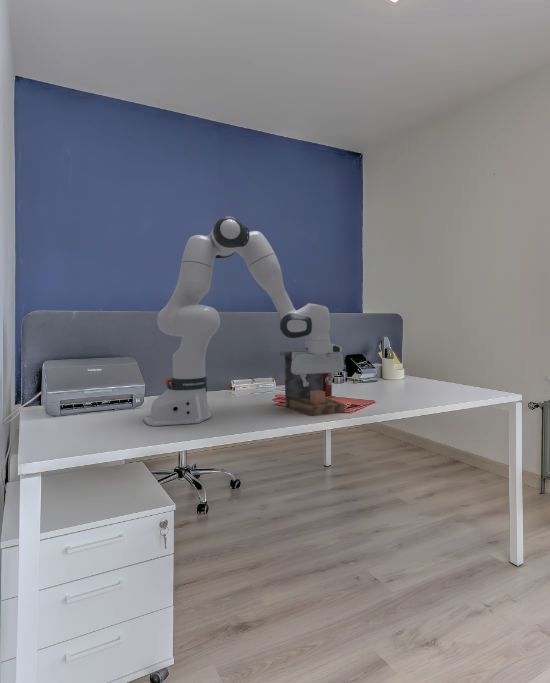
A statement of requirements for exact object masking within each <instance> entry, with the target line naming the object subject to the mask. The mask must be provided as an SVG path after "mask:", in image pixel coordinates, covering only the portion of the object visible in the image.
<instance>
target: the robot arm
mask: <svg viewBox="0 0 550 683" xmlns="http://www.w3.org/2000/svg"><path fill="white" fill-rule="evenodd" d="M235 253H236V254H238V255H240V257H241V258H242V259H243V260H244V263H245V264H246V267H247V270H248V271H249V273H250V275H251V276H252V277H253V279H254V280H255V281H256V283H257V284H258V285H259V286H260V287H261V288H262V289H263V290H264V291H265V292H266V293H267V294H268V296H269V297H270V299H271V301H272V302H273V304H274V307H275V309H276V310H277V311H276V312H277V313H278V315H279V319H280V323H279V327H280V331H281V333H282V334H283V335H284V336H285V337H286V338H288V339H290V340H291V339H292V340H293V339H294V340H297V339H299V338H302V337H305V348H304V347H303V348H295V349H294V350H292V351H291V352H292V363H291V372H292V373H293V374H295V375H300V377H301V379H302V381H303V386H304V387H308V386H309V382H308V381H306V379H305V377H306V374H318V373H329V375H330V376H329V378H328V380H326V385H332V386H333V380H334V377H335V375H336V374H335V373H342V372H343V370H344V368H345V363H344V355H343V354H342V352H343V347H342V346H339V345H338V344H335V343H331V339H330V338H331V337H330V330H331V317H330V316H331V315H330V310H329V308H328V307H327V306H326V305H325V304H322V303H316V302H308V303H307V304H305V305H303V307H301V308H299V309H296V308H295V306H294V305H293V302H292V300H291V298H290V296H289V294H288V292H287V291H286V289H285V288H286V287H285V284H284V280H283V278H284V277H283V272H282V268H281V265H280V262H279V259H278V257H277V255H276V253H275V251H274V249H273V248H272V245H271V244H270V242H269V241H268V239H267V238H266V236H265V235H264V234H263V233H262V232H261V231H259V230H251V231H249V228H248V227H247V226H245V225H244V224H243V223H242V222H241V221H240V220H239V219H237V218H236V217H233V216H224V217H222V218H220V219H218V220H217V221H216V222H215V224H214V225H213V228H212V230H211V231H210V233H209V234H207V235H203V234H195V235H192V236H190V237H189V238H188V240H187V242H186V245H185V248H184V250H183V254H182V258H181V263H180V269H179V274H178V277H177V278H178V279H177V283H176V285H175V289H174V291H173V294H171V297H170V298H169V300H168V302H167V303H166V305H165V306H164V307H163V308H162V309H161V310H160V311H159V312H158V314H157V317H156V322H157V323H156V324H157V328H158V329H159V331H160V332H162V333H163V334H165V335H168V336H171V337H180V338H181V341H180V345H179V347H178V349H177V350H175V351H174V352H173V354H172V377H171V378H164V380H163V383H164V384H165V385H167V389H166V390H164V392H162V393H161V394H160V395H159V396H157V398H155V399H154V400H153V401H152V403H151V408H150V414H146V415H145V416H144V417H143V418H144V420H143V421H144V423H145V424H146V425H149V426H152V427H153V426H154V427H158V426H161V427H162V426H174V425H188V424H199V423H201V422H203V421H205V420H208V419H210V418H211V417H212V414H211V411H210V408H209V407H210V406H209V402H208V394H207V393H208V378H207V376H206V355H207V351H208V350H207V349H208V346H209V343H210V341H211V339H212V338H213V336H214V335H215V334H216V333H217V332H218V331H219V329H220V325H221V318H220V315H219V314H220V313H219V312H218V311H217V309H215V307H212V306H209V305H204V304H199V303H200V302H201V300H202V299H203V298H204V296H206V295H207V294H208V293H209V291H210V289H211V285H212V284H211V282H212V277H213V276H212V275H213V270H214V264H215V259H225V258H229V257H231V256H233V255H234V254H235ZM294 351H296V352H294ZM299 351H301V352H299Z"/></svg>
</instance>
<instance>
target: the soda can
mask: <svg viewBox="0 0 550 683" xmlns="http://www.w3.org/2000/svg"><path fill="white" fill-rule="evenodd" d="M329 376H330V375H329V373H323V391H324V392H325V397H330V398H331V397H332V396H333V384H332V385H326V380H328V378H329Z"/></svg>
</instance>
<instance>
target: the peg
mask: <svg viewBox="0 0 550 683" xmlns="http://www.w3.org/2000/svg"><path fill="white" fill-rule="evenodd" d="M310 402H311V403H313V404H321V403H325V392H324V391H321V390H316V391H310Z"/></svg>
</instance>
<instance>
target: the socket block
mask: <svg viewBox="0 0 550 683" xmlns="http://www.w3.org/2000/svg"><path fill="white" fill-rule="evenodd" d="M293 351H294V350H293ZM293 351H279V356H280V357H284V406H285V407H286V408H291V409H293V410H295V411H298V412H300V413H302V414H304V415H308V416H310V417H314V416H321V415H331V414H339V413H346V410H345V408H346V407H345V406H346V404H345V403H344V402H340V401H337V400H335V399H331V398H326V397H325V403H321V404H313V403H311V402H310V391H316V390H321V391H323V373H318V374H306V377H305V379H306V381H308V382H309V386H308V387H304V386H303V381H302V379H301V377H300V375H295V374H293V373H292V372H291V363H292V352H293ZM294 352H296V351H294ZM299 352H301V351H299Z"/></svg>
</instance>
